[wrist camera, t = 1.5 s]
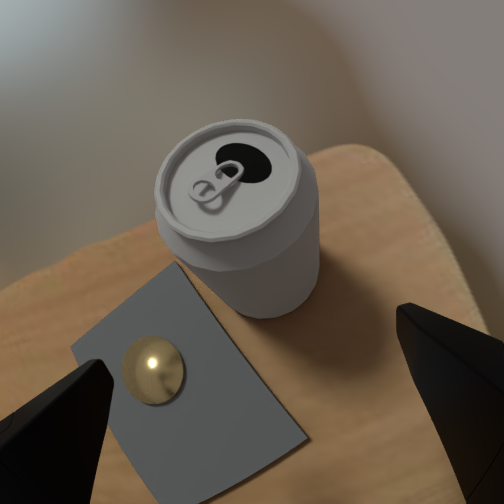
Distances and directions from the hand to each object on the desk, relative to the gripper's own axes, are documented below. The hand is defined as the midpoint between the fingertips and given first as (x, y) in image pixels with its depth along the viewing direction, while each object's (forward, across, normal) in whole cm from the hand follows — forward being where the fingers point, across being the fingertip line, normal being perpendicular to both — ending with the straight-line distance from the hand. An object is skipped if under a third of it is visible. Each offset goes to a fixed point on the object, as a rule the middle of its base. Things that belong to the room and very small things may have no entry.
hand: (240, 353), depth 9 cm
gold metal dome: (+10, +9, +8) cm, 15 cm away
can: (+14, 0, +4) cm, 15 cm away
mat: (+9, +8, +10) cm, 15 cm away
